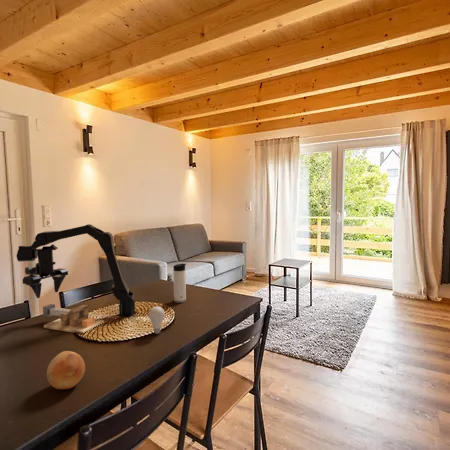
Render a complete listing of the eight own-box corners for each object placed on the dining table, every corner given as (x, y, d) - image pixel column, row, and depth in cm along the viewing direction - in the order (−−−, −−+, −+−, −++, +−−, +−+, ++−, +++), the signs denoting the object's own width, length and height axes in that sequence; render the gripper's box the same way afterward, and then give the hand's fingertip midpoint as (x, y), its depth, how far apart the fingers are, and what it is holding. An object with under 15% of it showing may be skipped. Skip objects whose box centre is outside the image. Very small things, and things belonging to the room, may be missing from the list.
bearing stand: (104, 322, 135) (103, 305, 135) (83, 333, 124) (82, 314, 123) (66, 317, 142) (65, 300, 141) (43, 327, 131) (42, 309, 130)
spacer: (90, 322, 133) (94, 323, 132) (82, 326, 129) (87, 327, 128) (89, 317, 133) (94, 317, 132) (82, 320, 128) (87, 321, 128)
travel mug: (184, 303, 160) (183, 265, 159) (172, 302, 162) (171, 264, 160) (188, 299, 167) (187, 262, 165) (176, 298, 168) (175, 262, 166)
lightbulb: (167, 331, 125) (167, 305, 124) (159, 337, 119) (159, 310, 119) (154, 329, 127) (153, 303, 126) (146, 335, 121) (145, 308, 121)
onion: (38, 392, 85) (36, 358, 85) (68, 374, 95) (67, 342, 94) (65, 400, 82) (63, 364, 81) (93, 380, 91) (91, 347, 91)
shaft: (81, 317, 134) (81, 307, 133) (74, 321, 130) (74, 310, 130) (51, 313, 139) (50, 303, 139) (43, 316, 136) (42, 306, 135)
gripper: (49, 256, 147) (51, 288, 148) (11, 263, 130) (14, 299, 131) (68, 257, 144) (69, 289, 145) (31, 264, 126) (33, 302, 127)
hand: (47, 295), depth 137 cm, fingers open, 9 cm apart
